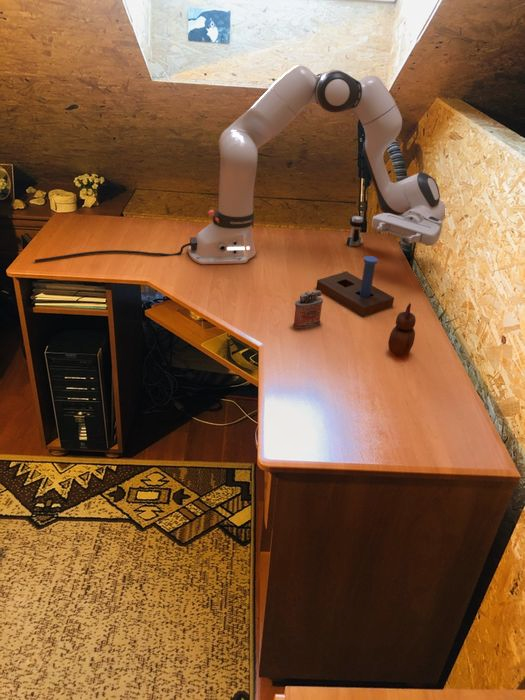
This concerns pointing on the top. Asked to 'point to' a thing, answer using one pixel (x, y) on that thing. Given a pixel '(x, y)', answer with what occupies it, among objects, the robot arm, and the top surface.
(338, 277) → the rack
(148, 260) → the top surface
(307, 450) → the top surface
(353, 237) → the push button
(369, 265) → the peg
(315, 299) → the lighter
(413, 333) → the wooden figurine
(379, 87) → the robot arm
